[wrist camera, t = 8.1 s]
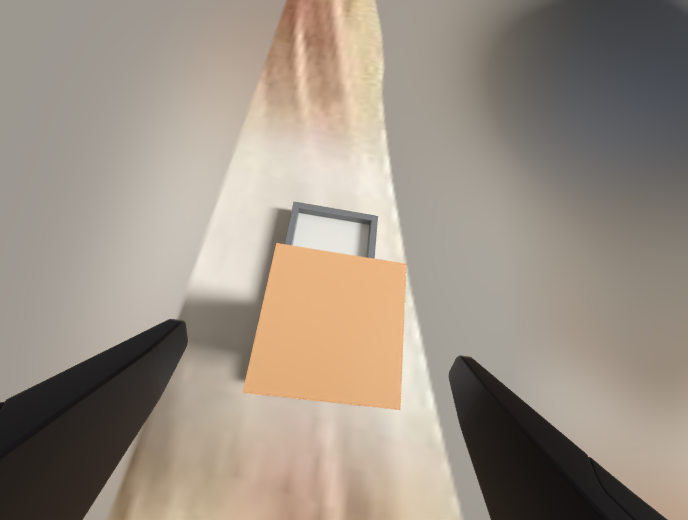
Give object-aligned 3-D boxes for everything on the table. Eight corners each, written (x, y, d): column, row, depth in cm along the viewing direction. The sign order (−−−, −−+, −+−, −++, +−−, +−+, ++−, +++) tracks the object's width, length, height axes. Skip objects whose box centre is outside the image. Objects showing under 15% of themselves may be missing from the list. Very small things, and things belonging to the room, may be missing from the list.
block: (341, 368, 18) (400, 410, 7) (284, 361, 18) (242, 392, 6) (348, 311, 19) (406, 263, 8) (295, 303, 19) (276, 242, 8)
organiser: (358, 392, 18) (362, 396, 17) (259, 381, 18) (255, 385, 16) (373, 224, 23) (377, 216, 21) (294, 210, 22) (293, 201, 21)
